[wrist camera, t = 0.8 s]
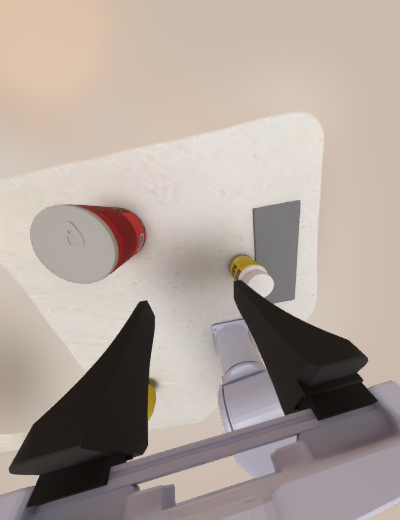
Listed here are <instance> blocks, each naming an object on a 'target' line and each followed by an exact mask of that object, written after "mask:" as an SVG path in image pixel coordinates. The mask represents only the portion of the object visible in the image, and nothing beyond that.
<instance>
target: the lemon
mask: <svg viewBox="0 0 400 520" xmlns="http://www.w3.org/2000/svg"><path fill="white" fill-rule="evenodd" d="M155 402H156V393H155V390H154V388H153V387H152V386H151V385H150V384H149V386H148V420H149V419H150V417H151V416H152V413H153V410H154V407H155Z"/></svg>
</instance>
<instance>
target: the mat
mask: <svg viewBox="0 0 400 520" xmlns="http://www.w3.org/2000/svg"><path fill="white" fill-rule="evenodd" d="M300 201H301V200H299V201H293V202H288V203H282V204H277V205H272V206H266V207H261V208H255V209H253V226H254V248H255V261H256V262H257V263H258V264H260V265H261V266H262V267H264V268H265V270H266V271H267V273H268V275H269V276H271V278H272V279H273V281H274V287H273V290H272V291H271V293H270V294H269V295H268V296H266V297H264V298H265V299H267V300H268V301H269V302H271V303H272V304H273V303H278V302H284V301H289V300H294V299H295V283H296V267H297V250H298V234H299V218H300Z"/></svg>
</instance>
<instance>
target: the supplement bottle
mask: <svg viewBox="0 0 400 520" xmlns="http://www.w3.org/2000/svg"><path fill="white" fill-rule="evenodd" d="M229 271H230V272H231V274H232V276H233V277H234V279H235V280H242V281H243V282H245V283H246V284H247V285H248V286H249V287H251V288H252V289H253V290H254V291H256V292H257V293H258V294H260V295H261V296H262V297H266V296H268V295H269V294H270V293H271V291H272V290H273V287H274V281H273V279H272V278H271V276H269V275H268V273H267V271H266V270H265V268H264V267H262V266H261V265H260V264H258V263H257V262H256V261H254V260H253V259H252V258H251V257H249V256H248V255H245V254H239V255H236V256H234V257H233V258H232V259H231V260H230V263H229Z"/></svg>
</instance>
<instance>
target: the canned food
mask: <svg viewBox="0 0 400 520" xmlns="http://www.w3.org/2000/svg"><path fill="white" fill-rule="evenodd" d="M30 239H31V243H32V247H33V249H34V251H35V254H36V255H37V257H38V258H39V260H40V261H41V262H42V263H43V265H44V266H45V267H46V268H47V269H49V270H50V271H51V272H52V273H54V274H55V275H57V276H58V277H60V278H62V279H65V280H67V281H70V282H74V283H80V284H89V283H94V282H97V281H99V280H102V279H103V278H105V277H107V276H108V275H109V274H111V273H112V272H114V271H115V270H116V269H117V268H119V267H120V266H121V265H122V264H124V263H125V262H126V261H127V260H129V259H130V258H131V257H132V256H134V255H135V254H136V253H137V252H139V251H140V250H141V248H142V247H143V245H144V241H145V230H144V227H143V225H142V223H141V221H140V220H139V219H138V218H137V217H136V216H135V215H134V214H133V213H131V212H130V211H128V210H126V209H123V208H116V207H102V206H88V205H70V204H69V205H55V206H51V207H47V208H46V209H44V210H42V211H40V212H39V213H38V214H37V215H36V217H35V218H34V220H33V222H32V225H31V229H30Z"/></svg>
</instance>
